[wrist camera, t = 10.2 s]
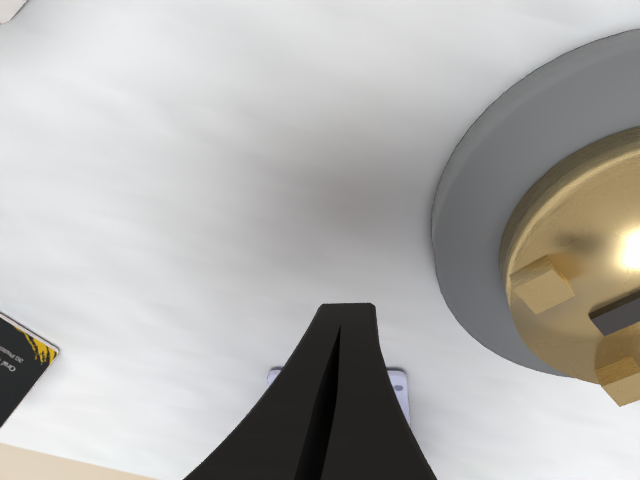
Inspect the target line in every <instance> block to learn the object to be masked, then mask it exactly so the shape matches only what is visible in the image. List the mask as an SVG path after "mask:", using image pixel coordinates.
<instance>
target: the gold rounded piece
mask: <svg viewBox="0 0 640 480" xmlns="http://www.w3.org/2000/svg"><path fill="white" fill-rule="evenodd" d="M499 270H500V277H501V280H502V284H503V287H504V291H505V294H506V297H507V301H508V304H509V308H510V311H511V315H512V318H513V321H514V324H515V327H516V330H517V332H518V333H519V335H520V337H521V339H522V340H523V342H524V343H525V344H526V345H527V347H528V348H529V349H530V350H531V351H532V352H533V353H534V354H535V355H536V356H537V357H538V358H539V359H540V360H542V361H543V362H545V363H546V364H548V365H549V366H551V367H552V368H554V369H556V370H558V371H560V372H562V373H564V374H566V375H569V376H572V377H574V378H577V379H580V380H583V381H587V382H591V383H595V384H600V385H601V387H602V388H603V389H604V390H605V391H606V392H607V393H608V394H609V395H610V397H611V398H612V399H613V400H614V401H615V402H616V403H617V404H618V405H619V406H623V405H626V404H629V403H632V402H635V401H637V400H640V126H639V127H635V128H631V129H628V130H625V131H622V132H619V133H616V134H613V135H610V136H607V137H605V138H603V139H600V140H598V141H596V142H594V143H591V144H589V145H587V146H586V147H584V148H582V149H580V150H578V151H577V152H575V153H573V154H571V155H570V156H568V157H567V158H565V159H564V160H562V161H561V162H560V163H558V164H557V165H555V166H554V167H553V168H551V169H550V170H549V171H548V172H547V173H546V174H544V175H543V176H542V177H541V178H540V179H539V180H538V181H537V182H536V183H535V184H534V185H533V186H532V187H531V188H530V189H529V190H528V192H527V193H526V194H525V195H524V196H523V198H522V199H521V200H520V202H519V203H518V205H517V206H516V207H515V209H514V211H513V213H512V214H511V216H510V218H509V220H508V222H507V224H506V227H505V230H504V232H503V235H502V238H501V244H500V249H499Z"/></svg>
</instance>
